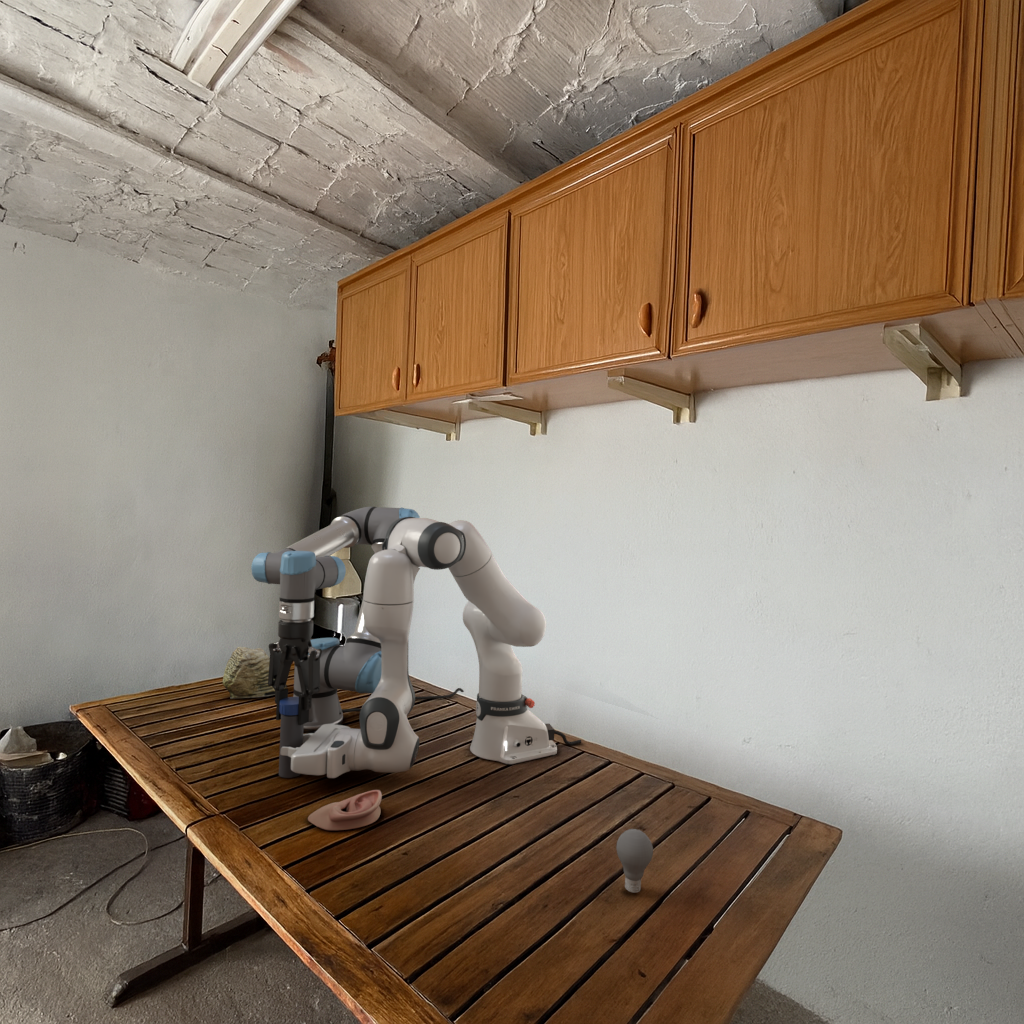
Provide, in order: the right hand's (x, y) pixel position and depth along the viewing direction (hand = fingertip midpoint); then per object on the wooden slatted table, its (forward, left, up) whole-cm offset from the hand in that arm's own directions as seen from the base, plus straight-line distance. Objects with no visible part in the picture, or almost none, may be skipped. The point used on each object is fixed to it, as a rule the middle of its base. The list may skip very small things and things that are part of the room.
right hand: (287, 744), depth 144 cm
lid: (-1, 0, +10) cm, 10 cm away
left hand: (-1, 0, +6) cm, 6 cm away
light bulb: (-52, +62, -7) cm, 82 cm away
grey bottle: (-1, 0, -7) cm, 7 cm away
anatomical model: (-10, +24, -7) cm, 27 cm away
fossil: (+7, -61, -7) cm, 62 cm away
